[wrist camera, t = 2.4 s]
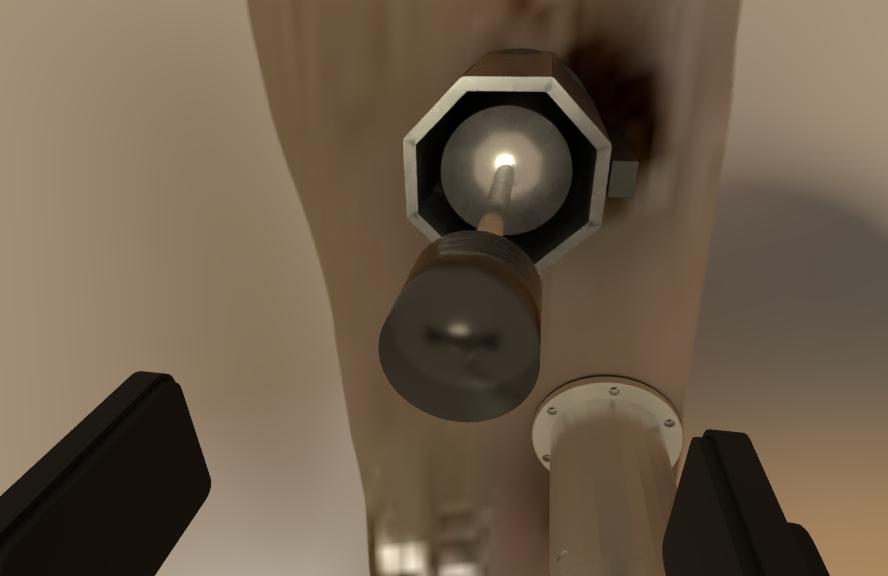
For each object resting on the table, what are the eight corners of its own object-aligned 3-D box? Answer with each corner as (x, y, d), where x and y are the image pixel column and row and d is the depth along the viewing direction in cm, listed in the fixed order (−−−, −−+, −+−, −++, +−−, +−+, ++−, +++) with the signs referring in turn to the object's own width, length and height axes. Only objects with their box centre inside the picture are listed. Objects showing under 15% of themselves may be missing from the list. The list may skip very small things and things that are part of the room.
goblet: (565, 233, 29) (580, 472, 14) (443, 227, 30) (342, 443, 15) (578, 104, 25) (614, 243, 11) (441, 103, 26) (312, 227, 12)
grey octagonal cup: (603, 203, 38) (624, 285, 27) (445, 196, 39) (405, 270, 29) (623, 48, 33) (659, 72, 22) (443, 48, 35) (395, 71, 24)
